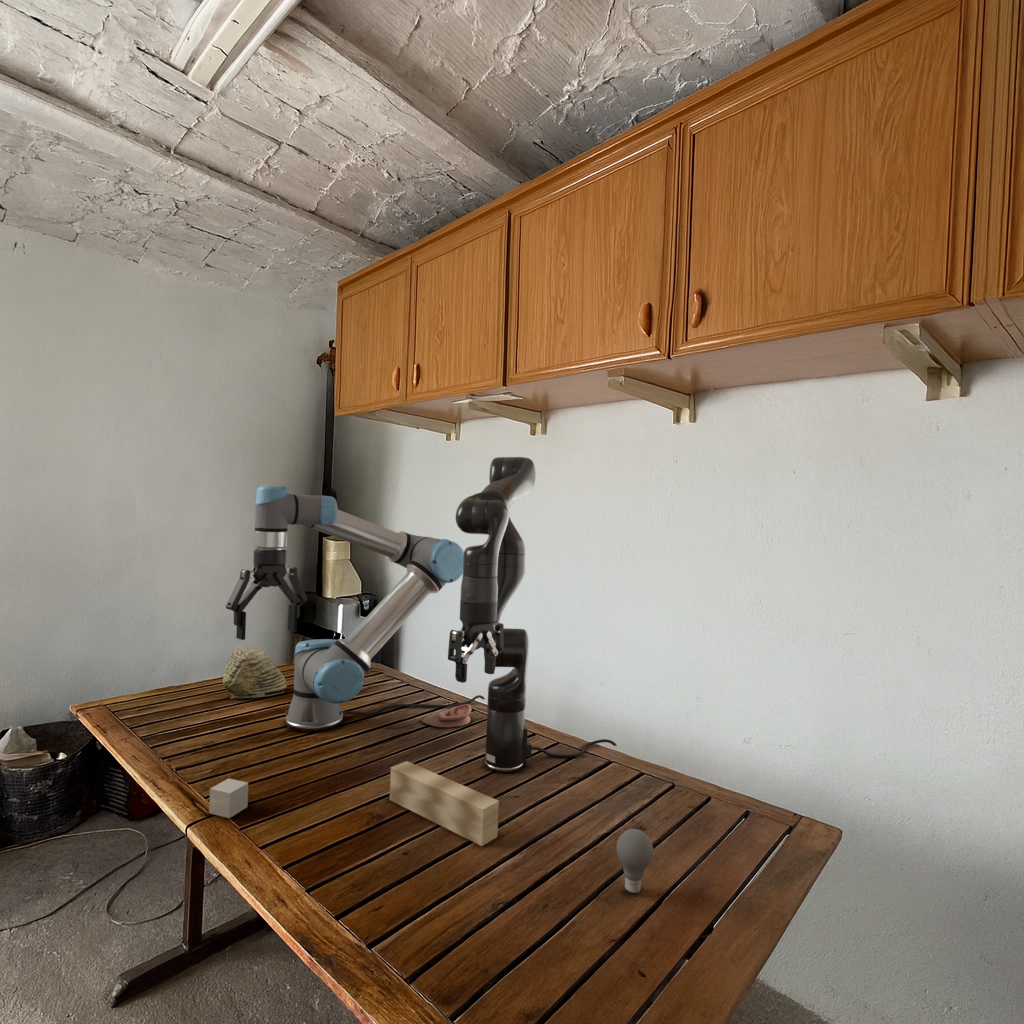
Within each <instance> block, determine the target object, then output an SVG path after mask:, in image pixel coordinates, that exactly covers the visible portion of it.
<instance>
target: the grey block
mask: <svg viewBox="0 0 1024 1024" xmlns="http://www.w3.org/2000/svg"><path fill="white" fill-rule="evenodd" d="M248 801H249V782H247V781H242V780H237V779H233V778H227V779H225V780H223V781H221V782H219V783H217V784H216V785H214V786H212V787H210V788H209V806H208V811H209V812H208V813H209V814H210V815H215V816H218V817H223V818H227V819H231V818H233V817H234V816H235V815H237V814H239V813H241V812H242V811H244V810H245V809H247V808H248V803H249V802H248Z"/></svg>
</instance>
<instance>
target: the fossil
mask: <svg viewBox="0 0 1024 1024" xmlns="http://www.w3.org/2000/svg"><path fill="white" fill-rule="evenodd" d="M222 676H223V677H222V685H223V687H224V688H225V690H226V691H228V693H229V698H230V699H250V698H264V697H271V696H275V695H281V694H284V693H285V691H286V689H287V687H288V686H287V680H286V678H285V676H284V674H283V673H282V672H281V669H279V668H278V667H277V665H276V663H275V662H274V660H273V659H272V658H271V657H270V656H269V655H268V654H267V653H266V652H265V650H264V649H263V648H260V647H258V648H251V647H247V646H246V647H245V646H238V647H237V648H236V649H235V650H233V651H232V653H231V656H230V657H229V659H228V660H227V663H226V666H225V668H224V671H223V675H222Z"/></svg>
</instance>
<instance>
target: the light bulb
mask: <svg viewBox="0 0 1024 1024" xmlns="http://www.w3.org/2000/svg"><path fill="white" fill-rule="evenodd" d="M615 849H616V854H617V857H618V859H619V861H620V863H621V865H622V867H623V873H624V874H623V875H624V876H625V878H624V888H625V890H627V891H628V892H630V893H634V894H635V893H639V892H640V891H641V889H642V887H641V886H642V879H643V877H644V875H645V871H646V868H647V867H648V866H649V864H650V863H651V861H652V859H653V855H654V847H653V843H652V841H651V838H649V836H648V835H647V834H646V833H645V832H643V831H642V830H641V829H636V828H629V829H627V830H625V831H623V832H622V833H621V834H620V835H619V837H618V839H617V841H616V847H615Z"/></svg>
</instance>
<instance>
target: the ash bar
mask: <svg viewBox="0 0 1024 1024" xmlns="http://www.w3.org/2000/svg"><path fill="white" fill-rule="evenodd" d="M389 779H390V780H389V781H390V783H389V801H391V802H393V803H394V804H397V805H399V806H400V807H402V808H405V809H407V810H409V811H410V812H412V813H415V814H416V815H418V816H421V817H423V818H424V819H426V820H428V821H431V822H432V823H434V824H436V825H439V826H440V827H443V828H445V829H446V830H448V831H450V832H453V833H455V834H456V835H459V836H460V837H462V838H465V839H466V840H468V841H471V842H472V843H475V844H477V845H478V846H480V847H483V846H485V845H487V844H488V843H490V842H492V841H493V840H495V839H497V838H498V833H499V832H498V830H499V812H500V811H499V810H500V800H498V799H496V798H494V797H491V796H489V795H486V794H484V793H481V792H479V791H477V790H474V789H472V788H470V787H468V786H467V785H463V784H461V783H459V782H456V781H454V780H452V779H449V778H447V777H445V776H442V775H440V774H438V773H435V772H433V771H431V770H428V769H427V768H424V767H421V766H419V765H417V764H415V763H413V762H410V761H408V760H406V761H403V762H400V763H399V764H396V765H393V766H391V767H390V778H389Z"/></svg>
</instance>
